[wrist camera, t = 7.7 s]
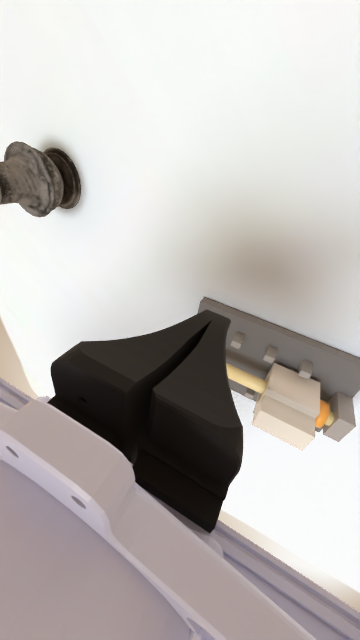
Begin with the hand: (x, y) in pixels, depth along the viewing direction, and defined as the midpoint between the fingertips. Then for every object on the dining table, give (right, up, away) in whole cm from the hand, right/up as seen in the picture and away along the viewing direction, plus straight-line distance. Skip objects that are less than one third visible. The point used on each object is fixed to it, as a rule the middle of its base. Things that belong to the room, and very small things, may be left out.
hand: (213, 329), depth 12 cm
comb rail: (+7, -4, +12) cm, 14 cm away
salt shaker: (-14, +15, +12) cm, 24 cm away
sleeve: (+8, -5, +10) cm, 14 cm away
